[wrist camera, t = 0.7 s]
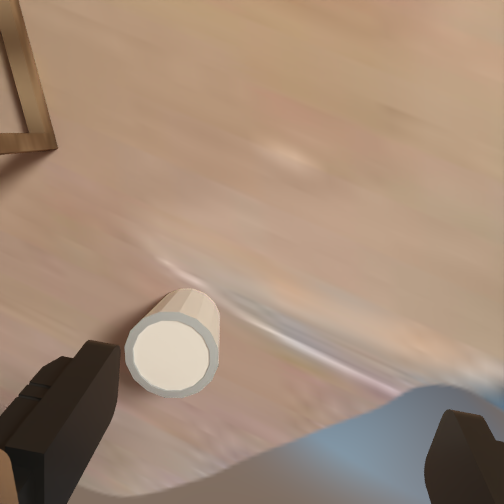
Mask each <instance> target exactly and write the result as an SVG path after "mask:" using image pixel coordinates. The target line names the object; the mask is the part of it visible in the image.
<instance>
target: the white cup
mask: <svg viewBox="0 0 504 504" xmlns="http://www.w3.org/2000/svg"><path fill="white" fill-rule="evenodd" d="M219 338H220V313H219V311H218V309H217V307H216V304H215V302H214V301H213V300H212V299H210V298H209V297H208V296H207V295H206V294H205V293H203V292H200V291H198V290H195V289H178V290H175V291H173V292H170V293H168V294H167V295H166V296H165V297H164V298H163V299H162V300H161V301H160V302H159V303H158V304H157V305H156V306H155V307H154V308H153V309H152V310H151V311H150V312H149V313H148V314H147V315H146V316H145V317H144V318H143V319H142V320H141V321H140V322H139V323H138V324H137V325H136V326H135V327H134V328H133V329H132V330H131V331H130V333H129V336H128V338H127V341H126V344H125V346H124V347H125V361H126V365H127V367H128V369H129V371H130V373H131V375H132V377H133V379H134V380H135V381H136V382H138V383H139V384H140V385H141V386H142V387H143V388H144V389H146V390H147V391H149V392H151V393H154V394H156V395H159V396H161V397H164V398H184V397H187V396H190V395H192V394H195V393H198V392H200V391H201V390H202V389H203V388H204V387H205V386H206V385H207V384H209V383H210V382H211V381H212V379H213V377H214V374H215V372H216V370H217V367H218V363H219Z"/></svg>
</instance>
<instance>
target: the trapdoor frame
mask: <svg viewBox="0 0 504 504" xmlns="http://www.w3.org/2000/svg"><path fill="white" fill-rule="evenodd" d="M0 31H1V34H2V38H3V41H4V45H5V48H6V52H7V56H8V59H9V63H10V66H11V70H12V73H13V77H14V81H15V84H16V88H17V91H18V95H19V98H20V102H21V106H22V109H23V113H24V116H25V120H26V123H27V127H28V131H29V133H0V155H4V154H16V153H28V152H39V151H47V150H52V149H58V146H57V143H56V139H55V135H54V132H53V128H52V124H51V120H50V117H49V113H48V109H47V105H46V102H45V98H44V94H43V90H42V87H41V83H40V79H39V76H38V72H37V68H36V64H35V61H34V57H33V53H32V49H31V46H30V42H29V38H28V34H27V31H26V27H25V23H24V20H23V16H22V12H21V8H20V5H19V1H18V0H0Z"/></svg>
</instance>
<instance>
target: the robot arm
mask: <svg viewBox="0 0 504 504" xmlns="http://www.w3.org/2000/svg"><path fill="white" fill-rule="evenodd" d="M119 368H120V347H119V345H114V344H108V343H103V342H98V341H93V340H88V341H87V342H86V343H85V344H84V345H83V347H82V348H81V349H80V350H79V352H78V353H77V354H76V355H75V357H74V358H69V357H64V356H61V357H59V358H58V359H56V360H54V361H52V362H51V363H49V364H47V365H45V366H44V367H42V368H41V369H40V371H39V372H38V373H37V374H36V375H35V376H34V377H33V379H32V380H31V381H30V383H29V385H27V386H26V387H25V388H24V389H23V390H22V391H21V393H20V394H19V397H16V398H15V400H14V401H13V402H12V403H11V404H10V405H9V406H8V408H7V409H6V410H5V411H4V412H3V413H2V415H1V416H0V504H67V502H68V500H69V498H70V496H71V495H72V493H73V491H74V489H75V487H76V485H77V483H78V482H79V480H80V478H81V476H82V474H83V472H84V470H85V469H86V467H87V465H88V463H89V461H90V459H91V457H92V455H93V454H94V452H95V450H96V448H97V446H98V444H99V442H100V441H101V439H102V437H103V435H104V433H105V431H106V429H107V427H108V426H109V424H110V422H111V419H112V417H113V414H114V411H115V407H116V403H117V397H118V383H119ZM424 476H425V484H426V488H427V491H428V494H429V498H430V501H431V504H504V442H501V441H496V440H495V438H494V436H493V434H492V433H491V431H490V429H489V427H488V425H487V423H486V421H485V420H484V418H483V417H482V416H480V415H476V414H471V413H465V412H460V411H455V410H450V409H449V410H446V411H445V412H444V414H443V416H442V418H441V421H440V423H439V426H438V429H437V431H436V434H435V436H434V439H433V441H432V444H431V447H430V449H429V452H428V454H427V457H426V461H425V468H424Z"/></svg>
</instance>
